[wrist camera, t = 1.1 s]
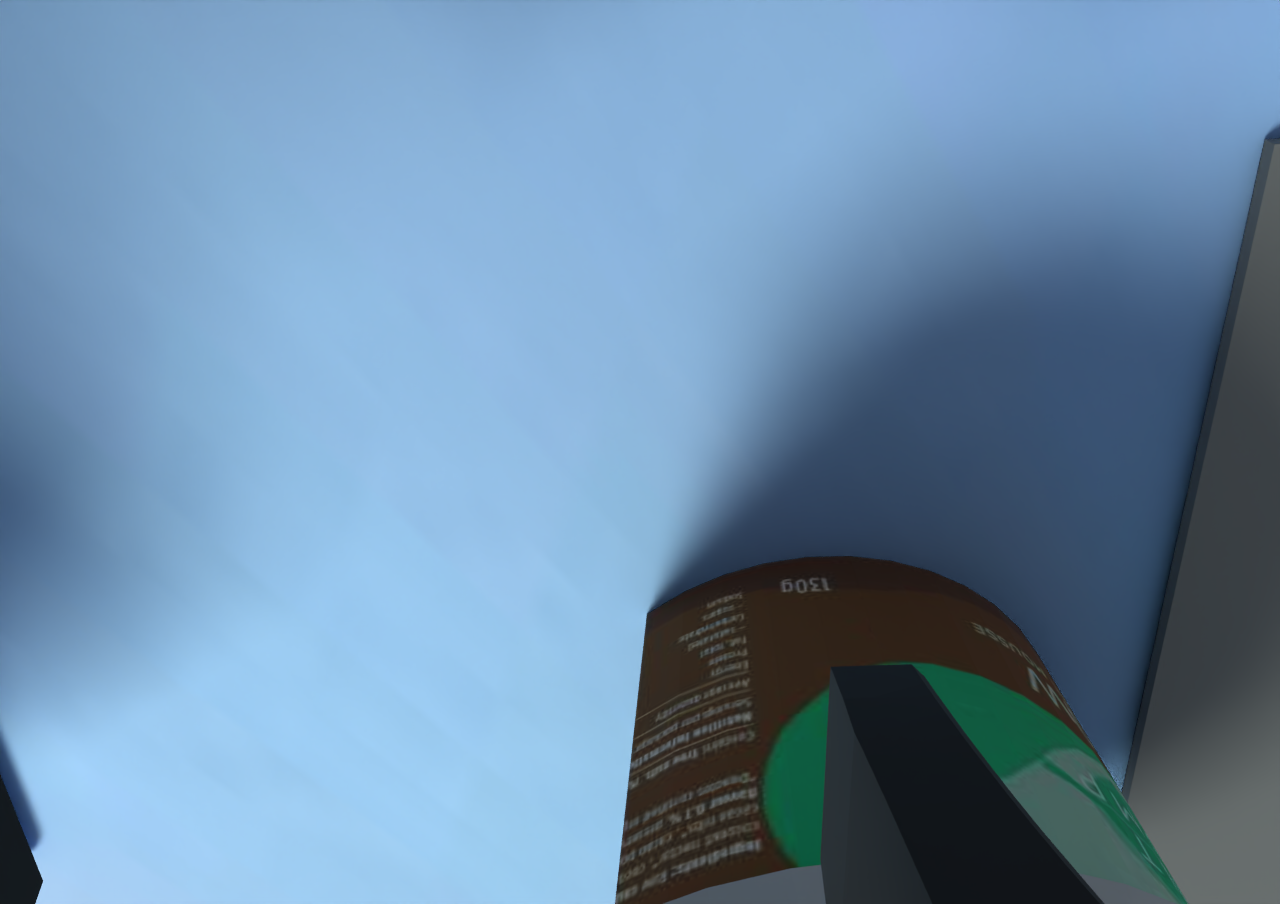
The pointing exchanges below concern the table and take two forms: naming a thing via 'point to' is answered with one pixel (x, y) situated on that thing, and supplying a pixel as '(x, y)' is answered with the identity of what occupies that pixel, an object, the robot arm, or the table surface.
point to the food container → (797, 731)
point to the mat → (1224, 612)
